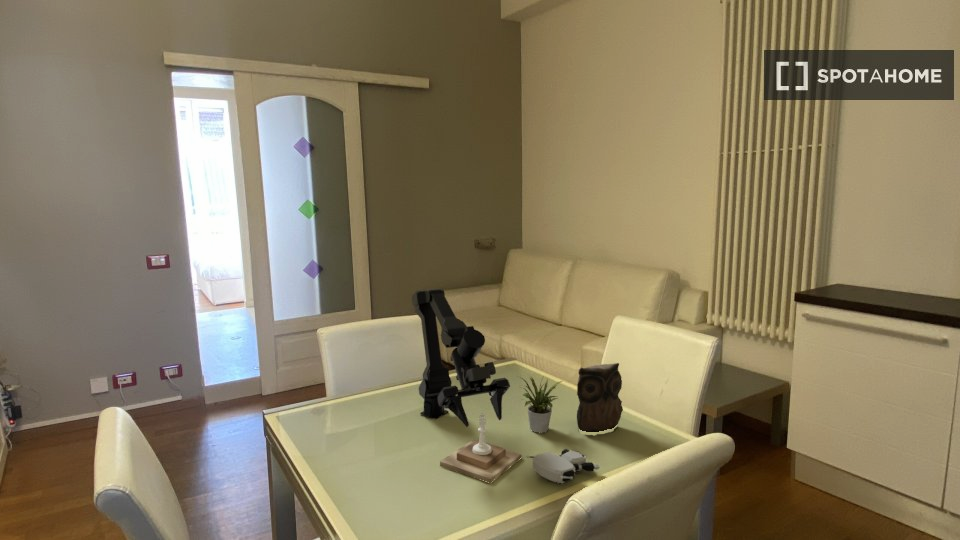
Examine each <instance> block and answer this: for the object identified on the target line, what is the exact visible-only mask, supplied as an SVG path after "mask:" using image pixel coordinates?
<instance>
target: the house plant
mask: <svg viewBox="0 0 960 540" xmlns="http://www.w3.org/2000/svg"><path fill="white" fill-rule="evenodd" d="M544 376H545V375H543V376H542V377H541V380H540V384H539V389H538V386H537V385H536V381H535V379H534V378H533V377H532V376H531V375H529V377H528V378H529V379H530V382H531V384H532V386H533V390H534V392H533V390H532V389H531V386H530V385H529V384H528V381H527V380H525V378H523V377H521V376H516V377H518V378H520V379H521V380H523V381H524V382H525V384H526V385H523V386H524V387H521V386H520V388H522V389H524V391H526V392H524V393H522V396H523V397H525V398H527V399H529V400H526V401H525V403H524V407H526V406H527V414H528V423H529V429H531V430H532V431H534V432H533V433H535V432H540V433H539V434H542V433H541V432H545V433H547V432H548V431H549V428H550V427H549V426H550V423H551V422H550V421H551V416H552V410H553V403H552V402H554V401H555V400H560V399H559V397H558V396H556V395H550V393H552V391H553V390H556V387H557V385H559V384H560V383H562V382H563V380H561V381H558V382H556V383H554V384H553V385H552V387H550V388H549V389H548V391H547V392H546V390H547V387H548V385H549V384H548V382H549V381H548V378H547V379H546V381H545V382H544V384H543V385H544V387H543V385H542V381H543V379H544ZM525 387H526V388H527V389H528V390H529V391H528V390H527V389H526V388H525ZM529 392H530V393H529ZM524 400H525V399H524V398H522V401H524ZM528 405H529V406H528ZM531 430H530V431H531ZM547 430H548V431H547ZM532 431H531V432H532ZM546 431H547V432H546Z"/></svg>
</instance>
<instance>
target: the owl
mask: <svg viewBox="0 0 960 540" xmlns="http://www.w3.org/2000/svg"><path fill="white" fill-rule="evenodd" d="M619 365H620V363H619V362H615V363H609V364H608V363H605V364H595V365H590V366H586V367H580V368H579V369H578V381H577V385H576V386H577V387H576V389H577V392H576V395H577V398H578V401H579V403H578V404H579V405H578V409H577V411H576V424H577V428H578V430H579V429H580V430H582V431H586V432H599V431H604V430H607V429H612V428H614V427H615V426H616V425H617V424H618V425H619V422H620V421H621V417H622V413H623V411H624V408H623V405H622V403H623V401H622V400H621V399H620V396H619V393H620V391H621V390H622V388H623V387H622V385H623V380H622V375H621V373H620V371H619V367H620V366H619Z"/></svg>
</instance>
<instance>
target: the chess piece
mask: <svg viewBox="0 0 960 540" xmlns="http://www.w3.org/2000/svg"><path fill="white" fill-rule="evenodd" d="M486 416H487V415H486V414H484V412H481V413H480V415H478V418H479V419H478V420H477V421H478V425H479V427H478V429H477V430H478V432H480V433H479V439H478V440H479V443H478V444H476V445H474V446H473V449H472V451H473V452H474V453H475V454H478V455H487V454H489V453H491V451H492V449H491V446H490V445H488V444H486V443H487V442H486V437H485V432H486V431H487V428H486V426H485V425H486V423H487V420H486V419H485V417H486ZM485 442H486V443H485Z"/></svg>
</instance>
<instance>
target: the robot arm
mask: <svg viewBox="0 0 960 540" xmlns="http://www.w3.org/2000/svg"><path fill="white" fill-rule="evenodd" d="M445 294H446V293H445V290H444V289H443V288H442V289H441V288H431V289H423V290H421V289H420V290H415V292H414V293H413V294H412V296H411V303H412V306H413V307H414V312H415V313H416V314H417V316H418V317H419V318H420V320H421V329H422V337H423V346H424V354H425V362H426V366H425V367H424V371H423V372H422V380H421V382H420V384H419V386H418V394H419V396H420V397H422V398H423V411H421V412H420V413H419V414H420V415H421V416H423V417H428V418H431V419H434V420H437V419H439V418H441V417H443V416H445V415H446V414H448V413H449V411H450V412H452V414H454V415H455V416H456V417H457V418H458V419H459V420H460V422H461V423H462V424H463V425H464V426H465V427H469V421H468V417H467V413H466V411H465V409H464V406H463V403H462V401H463V400H462V398H464V397H465V398H466V397H470V396H477V395H482V394H489V396H490V398H489V400H490V404H491V406H492V408H493V410H494V413H495V415H496V417H497V419H498V421H501V420H502V418H503V417H502V416H503V414H502V413H503V411H502V410H503V407H502V403H503V396H504V395H505V394H506V392H507V391H508V390H509V389H510V387H511V384H510V381H509V379H508V378H506V377H501V378H495V379H493V380H492V381H491V382H490V384H486V383H487V379H488V380H489V379H490V380H491V378H492V376H493V375H495V374H497V372H496V371H497V370H496V367H495V364H494V362H493V361H490V362H486V363H484V366H480V364H477V363H476V359H475V358H476V357H477V356H478V354H479V353H480V351H481V350H482V348H483V347H484V345H485V343H486V339H485V337H486V336H485V335H484V334H483V333H482V332H481V331H479V330H477V329H475V327H474V325H470V326H468V325H467V324H466V323H465V322H464V321H463V320H461V319H459V318H457V316H456V314H455V313H454V311H453V309H452V307H451V305H450V304H449V301H448V299H447V297H446V295H445ZM437 321H438V322H437ZM437 323H439V325H440V327H441V332H440V339H439V332H438V324H437ZM440 340H441V344H442V345H444V347H445V348H447V349H450V348H454V349H453V350H452V352H451V354H450V358H449V360H450V362H452V363H453V366H454V369H455V372H456V376H455V379H456V381H458V382H459V385H460V389H459V387H458V386H457V385H452V383H453V381H452V380H451V376H450V371H449V368H448V367H446V366H445V365H444V364H443V361H442V355H441V347H440ZM484 384H486V385H484ZM447 409H449V410H447Z"/></svg>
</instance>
